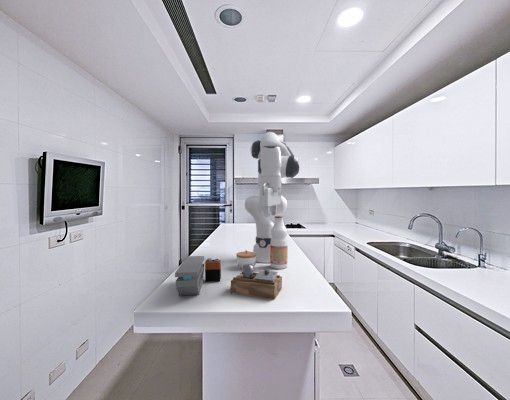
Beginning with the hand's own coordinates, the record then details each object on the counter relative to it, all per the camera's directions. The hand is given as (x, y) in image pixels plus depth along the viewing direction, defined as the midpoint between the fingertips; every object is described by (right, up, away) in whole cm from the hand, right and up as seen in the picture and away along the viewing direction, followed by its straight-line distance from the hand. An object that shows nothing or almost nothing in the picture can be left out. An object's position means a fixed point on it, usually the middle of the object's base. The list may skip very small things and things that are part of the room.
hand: (270, 216), depth 107 cm
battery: (-26, -30, +8) cm, 41 cm away
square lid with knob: (-2, -25, -5) cm, 26 cm away
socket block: (-6, -30, -4) cm, 31 cm away
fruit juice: (+6, -30, +31) cm, 44 cm away
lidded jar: (-11, -30, +29) cm, 43 cm away
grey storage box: (-33, -30, -3) cm, 45 cm away
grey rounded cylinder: (-10, -30, -2) cm, 32 cm away
